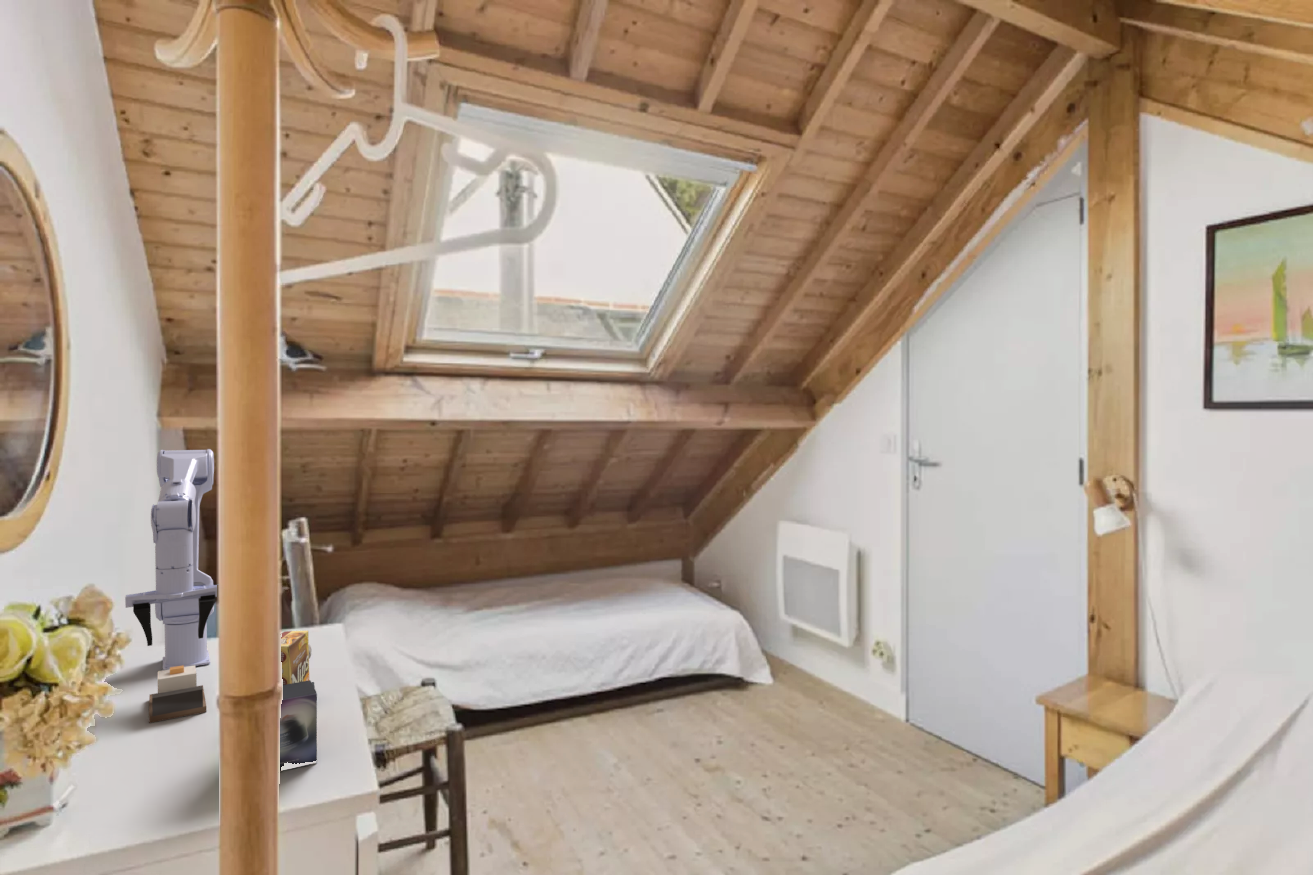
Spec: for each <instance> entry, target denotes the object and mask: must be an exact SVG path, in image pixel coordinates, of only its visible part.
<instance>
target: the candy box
mask: <svg viewBox="0 0 1313 875" xmlns="http://www.w3.org/2000/svg"><path fill="white" fill-rule="evenodd" d="M281 634H282V637H281V662H282V679H283V685H286V684H292V683H298V682H303V681H309V680H310V659H309V645H310V644H309V630H289V631H288V630H287V631H283V632H282V633H281Z"/></svg>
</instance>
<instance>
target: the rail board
mask: <svg viewBox="0 0 1313 875" xmlns="http://www.w3.org/2000/svg"><path fill="white" fill-rule="evenodd" d="M148 697H149V699H148V724H152V723H157V722H162V721H167V720H172V719H178V718H182V717H188V716H193V715H198V714H203V713H207V702H206V696H205V689H204V685H203V684H201V685H197V687H192V688H186V689H180V690H175V691H169V692H163V693H158V692H156V693H151V694H149V696H148Z"/></svg>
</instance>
